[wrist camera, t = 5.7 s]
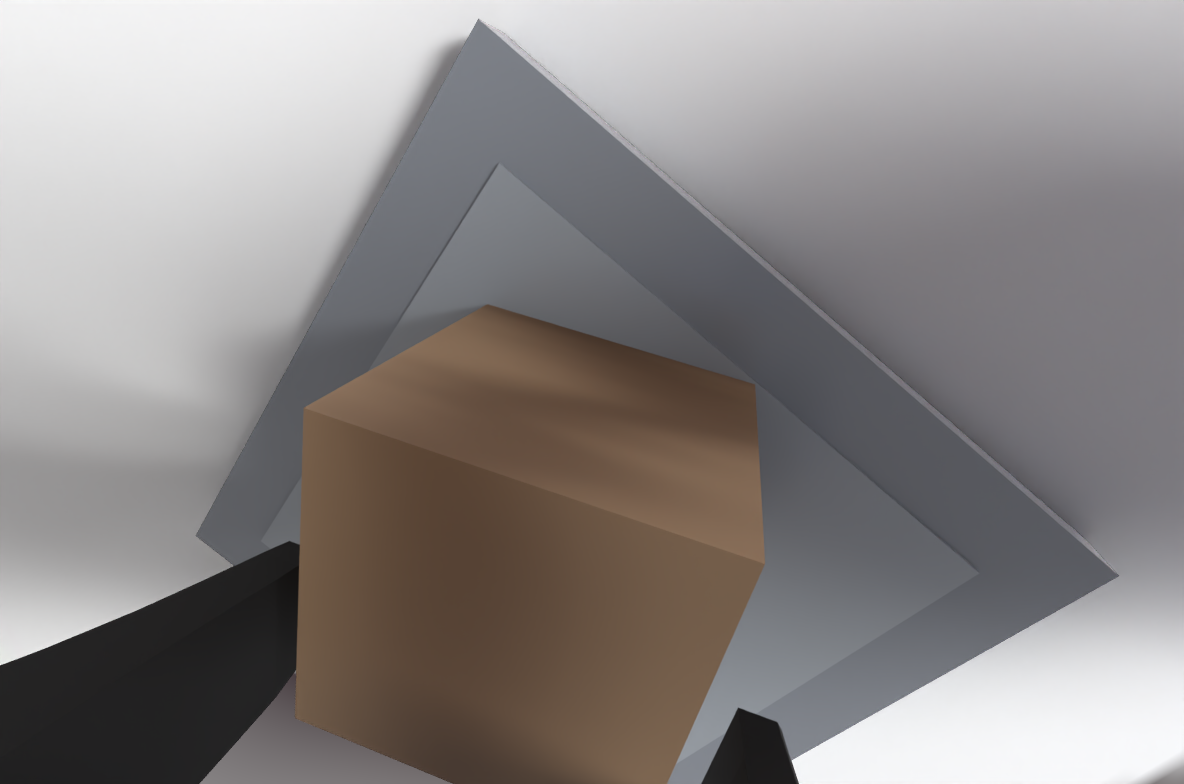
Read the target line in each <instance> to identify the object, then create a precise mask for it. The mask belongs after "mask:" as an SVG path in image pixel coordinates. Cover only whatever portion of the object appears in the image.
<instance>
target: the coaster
mask: <svg viewBox="0 0 1184 784" xmlns="http://www.w3.org/2000/svg"><path fill="white" fill-rule="evenodd" d="M487 304H489V305H492V306H495V307H499V308H502V309H505V310H509V311H512V312H515V313H519V314H522V315H525V316H529V317H532V318H535V319H539V320H542V321H545V322H549V323H552V324H555V325H559V326H562V327H565V328H569V329H572V330H575V331H579V332H582V333H585V334H589V335H592V336H595V337H599V338H602V339H605V340H609V341H612V342H615V343H619V344H622V345H625V346H629V347H632V348H635V349H639V350H642V351H645V352H649V353H652V354H655V355H659V356H662V357H665V358H669V359H672V360H675V361H679V362H682V363H685V364H689V365H692V366H695V367H699V368H702V369H705V370H709V371H712V372H715V373H719V374H722V375H725V376H729V377H732V378H735V379H739V380H742V381H745V382H749V383H752V384H755V391H756V409H757V427H758V445H759V463H760V481H761V499H762V517H763V536H764V554H765V565H764V568H763V570H762V572H761V574H760V576H759V579H758V581H757V583H756V585H755V588H754V590H753V592H752V594H751V597H750V599H749V601H748V603H747V606H746V608H745V610H744V612H743V615H742V617H741V619H740V621H739V624H738V626H737V628H736V630H735V633H734V635H733V637H732V639H731V641H730V644H729V646H728V648H727V650H726V653H725V655H724V657H723V659H722V662H721V664H720V666H719V668H718V671H717V673H716V675H715V677H714V680H713V682H712V684H711V686H710V689H709V691H708V693H707V695H706V698H705V700H704V702H703V704H702V706H701V709H700V711H699V713H698V715H697V718H696V720H695V722H694V724H693V727H692V729H691V731H690V733H689V736H688V738H687V740H686V742H685V745H684V747H683V749H682V751H681V754H680V756H679V758H678V760H677V763H676V765H675V767H674V769H673V772H672V774H671V776H670V778H669V780H668V783H667V784H701V783H702V781H703V779H704V777H705V775H706V773H707V771H708V769H709V767H710V765H711V762H712V760H713V758H714V756H715V754H716V752H717V750H718V748H719V746H720V744H721V742H722V740H723V738H724V736H725V734H726V731H727V729H728V727H729V725H730V723H731V721H732V719H733V717H734V715H735V713H736V711H737V709H738V708H741V709H744V710H746V711H749V712H752V713H754V714H757V715H760V716H762V717H765V718H768V719H771V720H773V721H776V722H778V724H779V726H780V728H781V730H782V733H783V736H784V739H785V742H786V746H787V749H788V752H789V755H790V758H791V760H793V759H795V758H796V757H798V756H800V755H802V754H803V753H805V752H807V751H809V750H811V749H812V748H814V747H816V746H818V745H819V744H821V743H823V742H825V741H827V740H828V739H830V738H832V737H834V736H835V735H837V734H839V733H841V732H843V731H844V730H846V729H848V728H850V727H851V726H853V725H855V724H857V723H859V722H860V721H862V720H864V719H866V718H867V717H869V716H871V715H873V714H875V713H876V712H878V711H880V710H882V709H883V708H885V707H887V706H889V705H891V704H892V703H894V702H896V701H898V700H899V699H901V698H903V697H905V696H907V695H908V694H910V693H912V692H914V691H915V690H917V689H919V688H921V687H923V686H924V685H926V684H928V683H930V682H931V681H933V680H935V679H937V678H939V677H940V676H942V675H944V674H946V673H948V672H949V671H951V670H953V669H955V668H956V667H958V666H960V665H962V664H964V663H965V662H967V661H969V660H971V659H972V658H974V657H976V656H978V655H980V654H981V653H983V652H985V651H987V650H988V649H990V648H992V647H994V646H996V645H997V644H999V643H1001V642H1003V641H1004V640H1006V639H1008V638H1010V637H1012V636H1013V635H1015V634H1017V633H1019V632H1020V631H1022V630H1024V629H1026V628H1028V627H1029V626H1031V625H1033V624H1035V623H1036V622H1038V621H1040V620H1042V619H1044V618H1045V617H1047V616H1049V615H1051V614H1052V613H1054V612H1056V611H1058V610H1060V609H1061V608H1063V607H1065V606H1067V605H1068V604H1070V603H1072V602H1074V601H1076V600H1077V599H1079V598H1081V597H1083V596H1084V595H1086V594H1088V593H1090V592H1092V591H1093V590H1095V589H1097V588H1099V587H1100V586H1102V585H1104V584H1106V583H1108V582H1109V581H1111V580H1113V579H1115V578H1116V577H1118V576H1119V575H1118V574H1117V573H1116V572H1115V571H1114V570H1113V569H1112V567H1111V566H1110V565H1109V564H1108V563H1107V562H1106V561H1105V560H1104V559H1103V557H1102V556H1101V555H1100V554H1099V553H1098V552H1097V551H1096V550H1095V549H1094V548H1093V546H1092V545H1091V544H1090V543H1089V542H1088V541H1087V540H1086V539H1085V538H1083V537H1082V536H1081V535H1080V534H1079V533H1078V532H1077V531H1075V530H1074V529H1073V528H1072V527H1071V526H1070V525H1069V524H1067V523H1066V522H1065V521H1064V520H1063V519H1062V518H1060V517H1059V516H1058V515H1057V514H1056V513H1055V512H1054V511H1052V510H1051V509H1050V508H1049V507H1048V506H1047V505H1046V504H1044V503H1043V502H1042V501H1041V500H1040V499H1039V498H1037V497H1036V496H1035V495H1034V494H1033V493H1032V492H1031V491H1029V490H1028V489H1027V488H1026V487H1025V486H1024V485H1023V484H1021V483H1020V482H1019V481H1018V480H1017V479H1016V478H1015V477H1013V476H1012V475H1011V474H1010V473H1009V472H1008V471H1006V470H1005V469H1004V468H1003V467H1002V466H1001V465H1000V464H998V463H997V462H996V461H995V460H994V459H993V458H992V457H990V456H989V455H988V454H987V453H986V452H985V451H983V450H982V449H981V448H980V447H979V446H978V445H977V444H975V443H974V442H973V441H972V440H971V439H970V438H969V437H967V436H966V435H965V434H964V433H963V432H962V431H961V430H959V429H958V428H957V427H956V426H955V425H954V424H952V423H951V422H950V421H949V420H948V419H947V418H946V417H944V416H943V415H942V414H941V413H940V412H939V411H938V410H936V409H935V408H934V407H933V406H932V405H931V404H929V403H928V402H927V401H926V400H925V399H924V398H923V397H921V396H920V395H919V394H918V393H917V392H916V391H915V390H913V389H912V388H911V387H910V386H909V385H908V384H907V383H905V382H904V381H903V380H902V379H901V378H900V377H898V376H897V375H896V374H895V373H894V372H893V371H892V370H890V369H889V368H888V367H887V366H886V365H885V364H884V363H882V362H881V361H880V360H879V359H878V358H877V357H875V356H874V355H873V354H872V353H871V352H870V351H869V350H867V349H866V348H865V347H864V346H863V345H862V344H861V343H859V342H858V341H857V340H856V339H855V338H854V337H852V336H851V335H850V334H849V333H848V332H847V331H846V330H844V329H843V328H842V327H841V326H840V325H839V324H838V323H836V322H835V321H834V320H833V319H832V318H831V317H830V316H828V315H827V314H826V313H825V312H824V311H823V310H821V309H820V308H819V307H818V306H817V305H816V304H815V303H813V302H812V301H811V300H810V299H809V298H808V297H807V296H805V295H804V294H803V293H802V292H801V291H800V290H798V289H797V288H796V287H795V286H794V285H793V284H792V283H790V282H789V281H788V280H787V279H786V278H785V277H784V276H782V275H781V274H780V273H779V272H778V271H777V270H776V269H774V268H773V267H772V266H771V265H770V264H769V263H767V262H766V261H765V260H764V259H763V258H762V257H761V256H759V255H758V254H757V253H756V252H755V251H754V250H753V249H751V248H750V247H749V246H748V245H747V244H746V243H744V242H743V241H742V240H741V239H740V238H739V237H738V236H736V235H735V234H734V233H733V232H732V231H731V230H730V229H728V228H727V227H726V226H725V225H724V224H723V223H722V222H720V221H719V220H718V219H717V218H716V217H715V216H713V215H712V214H711V213H710V212H709V211H708V210H707V209H705V208H704V207H703V206H702V205H701V204H700V203H699V202H697V201H696V200H695V199H694V198H693V197H692V196H690V195H689V194H688V193H687V192H686V191H685V190H684V189H682V188H681V187H680V186H679V185H678V184H677V183H676V182H674V181H673V180H672V179H671V178H670V177H669V176H668V175H666V174H665V173H664V172H663V171H662V170H661V169H659V168H658V167H657V166H656V165H655V164H654V163H653V162H651V161H650V160H649V159H648V158H647V157H646V156H645V155H643V154H642V153H641V152H640V151H639V150H638V149H636V148H635V147H634V146H633V145H632V144H631V143H630V142H628V141H627V140H626V139H625V138H624V137H623V136H622V135H620V134H619V133H618V132H617V131H616V130H615V129H614V128H612V127H611V126H610V125H609V124H608V123H607V122H605V121H604V120H603V119H602V118H601V117H600V116H599V115H597V114H596V113H595V112H594V111H593V110H592V109H591V108H589V107H588V106H587V105H586V104H585V103H584V102H582V101H581V100H580V99H579V98H578V97H577V96H576V95H574V94H573V93H572V92H571V91H570V90H569V89H568V88H566V87H565V86H564V85H563V84H562V83H561V82H559V81H558V80H557V79H556V78H555V77H554V76H553V75H551V74H550V73H549V72H548V71H547V70H546V69H545V68H543V67H542V66H541V65H540V64H539V63H538V62H537V61H535V60H534V59H533V58H532V57H531V56H530V55H528V54H527V53H526V52H525V51H524V50H523V49H522V48H520V47H519V46H518V45H517V44H516V43H515V42H514V41H512V40H511V39H510V38H509V37H508V36H507V35H505V34H504V33H503V32H502V31H500V30H498V29H496V28H495V27H493V26H491V25H489V24H487V23H485V22H483V21H481V20H480V19H478V20H477V22H476V24H475V26H474V28H473V30H472V31H471V33H470V35H469V37H468V39H467V41H466V42H465V44H464V46H463V48H462V50H461V52H460V53H459V55H458V57H457V59H456V61H455V63H454V64H453V66H452V68H451V70H450V72H449V74H448V75H447V77H446V79H445V81H444V83H443V85H442V86H441V88H440V90H439V92H438V94H437V96H436V97H435V99H434V101H433V103H432V105H431V106H430V108H429V110H428V112H427V114H426V116H425V117H424V119H423V121H422V123H421V125H420V127H419V128H418V130H417V132H416V134H415V136H414V138H413V139H412V141H411V143H410V145H409V147H408V149H407V150H406V152H405V154H404V156H403V158H402V160H401V161H400V163H399V165H398V167H397V169H396V171H395V172H394V174H393V176H392V178H391V180H390V181H389V183H388V185H387V187H386V189H385V191H384V192H383V194H382V196H381V198H380V200H379V202H378V203H377V205H376V207H375V209H374V211H373V213H372V214H371V216H370V218H369V220H368V222H367V224H366V225H365V227H364V229H363V231H362V233H361V235H360V236H359V238H358V240H357V242H356V244H355V246H354V247H353V249H352V251H351V253H350V255H349V256H348V258H347V260H346V262H345V264H344V266H343V267H342V269H341V271H340V273H339V275H338V277H337V278H336V280H335V282H334V284H333V286H332V288H331V289H330V291H329V293H328V295H327V297H326V299H325V300H324V302H323V304H322V306H321V308H320V310H319V311H318V313H317V315H316V317H315V319H314V321H313V322H312V324H311V326H310V328H309V330H308V331H307V333H306V335H305V337H304V339H303V341H302V342H301V344H300V346H299V348H298V350H297V352H296V353H295V355H294V357H293V359H292V361H291V363H290V364H289V366H288V368H287V370H286V372H285V374H284V375H283V377H282V379H281V381H280V383H279V385H278V386H277V388H276V390H275V392H274V394H273V396H272V397H271V399H270V401H269V403H268V405H267V406H266V408H265V410H264V412H263V414H262V416H261V417H260V419H259V421H258V423H257V425H256V427H255V428H254V430H253V432H252V434H251V436H250V438H249V439H248V441H247V443H246V445H245V447H244V449H243V450H242V452H241V454H240V456H239V458H238V460H237V461H236V463H235V465H234V467H233V469H232V471H231V472H230V474H229V476H228V478H227V480H226V481H225V483H224V485H223V487H222V489H221V491H220V492H219V494H218V496H217V498H216V500H215V502H214V503H213V505H212V507H211V509H210V511H209V513H208V514H207V516H206V518H205V520H204V522H203V524H202V525H201V527H200V529H199V531H198V533H197V535H196V536H197V537H198V538H199V539H201V540H202V541H203V542H204V543H206V544H207V545H208V546H210V547H211V548H212V549H213V550H215V551H216V552H217V553H219V554H220V555H221V556H222V557H224V558H225V559H226V560H228V561H229V562H230V563H231V564H233V565H234V566H235V565H238V564H240V563H242V562H244V561H246V560H248V559H250V558H252V557H255V556H257V555H259V554H261V553H263V552H265V551H268V550H270V549H272V548H274V547H276V546H279V545H281V544H283V543H285V542H288V541H291V542H294V543H297V544H299V545H300V520H301V484H302V448H303V412H304V407H306V406H308V405H310V404H311V403H313V402H315V401H317V400H318V399H320V398H322V397H324V396H326V395H327V394H329V393H331V392H333V391H334V390H336V389H338V388H340V387H342V386H343V385H345V384H347V383H349V382H350V381H352V380H354V379H356V378H357V377H359V376H361V375H363V374H365V373H366V372H368V371H370V370H372V369H373V368H375V367H377V366H379V365H381V364H382V363H384V362H386V361H388V360H389V359H391V358H393V357H395V356H397V355H398V354H400V353H402V352H404V351H405V350H407V349H409V348H411V347H412V346H414V345H416V344H418V343H420V342H421V341H423V340H425V339H427V338H428V337H430V336H432V335H434V334H436V333H437V332H439V331H441V330H443V329H444V328H446V327H448V326H450V325H451V324H453V323H455V322H457V321H459V320H460V319H462V318H464V317H466V316H467V315H469V314H471V313H473V312H475V311H476V310H478V309H480V308H482V307H483V306H485V305H487Z"/></svg>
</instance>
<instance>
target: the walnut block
mask: <svg viewBox="0 0 1184 784" xmlns="http://www.w3.org/2000/svg"><path fill="white" fill-rule="evenodd" d="M764 565H765V554H764V536H763V517H762V499H761V481H760V463H759V445H758V427H757V409H756V391H755V384H752V383H749V382H745V381H742V380H739V379H735V378H732V377H729V376H725V375H722V374H719V373H715V372H712V371H709V370H705V369H702V368H699V367H695V366H692V365H689V364H685V363H682V362H679V361H675V360H672V359H669V358H665V357H662V356H659V355H655V354H652V353H649V352H645V351H642V350H639V349H635V348H632V347H629V346H625V345H622V344H619V343H615V342H612V341H609V340H605V339H602V338H599V337H595V336H592V335H589V334H585V333H582V332H579V331H575V330H572V329H569V328H565V327H562V326H559V325H555V324H552V323H549V322H545V321H542V320H539V319H535V318H532V317H529V316H525V315H522V314H519V313H515V312H512V311H509V310H505V309H502V308H499V307H495V306H492V305H489V304H487V305H485V306H483V307H482V308H480V309H478V310H476V311H475V312H473V313H471V314H469V315H467V316H466V317H464V318H462V319H460V320H459V321H457V322H455V323H453V324H451V325H450V326H448V327H446V328H444V329H443V330H441V331H439V332H437V333H436V334H434V335H432V336H430V337H428V338H427V339H425V340H423V341H421V342H420V343H418V344H416V345H414V346H412V347H411V348H409V349H407V350H405V351H404V352H402V353H400V354H398V355H397V356H395V357H393V358H391V359H389V360H388V361H386V362H384V363H382V364H381V365H379V366H377V367H375V368H373V369H372V370H370V371H368V372H366V373H365V374H363V375H361V376H359V377H357V378H356V379H354V380H352V381H350V382H349V383H347V384H345V385H343V386H342V387H340V388H338V389H336V390H334V391H333V392H331V393H329V394H327V395H326V396H324V397H322V398H320V399H318V400H317V401H315V402H313V403H311V404H310V405H308V406H306V407H304V412H303V448H302V484H301V520H300V556H299V592H298V628H297V663H296V699H295V700H296V701H295V718H296V719H298V720H301V721H303V722H306V723H308V724H311V725H313V726H315V727H318V728H320V729H322V730H325V731H327V732H330V733H332V734H335V735H337V736H340V737H342V738H344V739H347V740H349V741H352V742H354V743H357V744H359V745H361V746H364V747H366V748H369V749H371V750H373V751H376V752H378V753H380V754H383V755H385V756H388V757H390V758H393V759H395V760H397V761H400V762H402V763H405V764H407V765H409V766H412V767H414V768H417V769H419V770H421V771H424V772H426V773H429V774H431V775H434V776H436V777H438V778H441V779H443V780H446V781H448V782H450V783H453V784H667V783H668V780H669V778H670V776H671V774H672V772H673V769H674V767H675V765H676V763H677V760H678V758H679V756H680V754H681V751H682V749H683V747H684V745H685V742H686V740H687V738H688V736H689V733H690V731H691V729H692V727H693V724H694V722H695V720H696V718H697V715H698V713H699V711H700V709H701V706H702V704H703V702H704V700H705V698H706V695H707V693H708V691H709V689H710V686H711V684H712V682H713V680H714V677H715V675H716V673H717V671H718V668H719V666H720V664H721V662H722V659H723V657H724V655H725V653H726V650H727V648H728V646H729V644H730V641H731V639H732V637H733V635H734V633H735V630H736V628H737V626H738V624H739V621H740V619H741V617H742V615H743V612H744V610H745V608H746V606H747V603H748V601H749V599H750V597H751V594H752V592H753V590H754V588H755V585H756V583H757V581H758V579H759V576H760V574H761V572H762V570H763V568H764Z"/></svg>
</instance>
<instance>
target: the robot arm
mask: <svg viewBox="0 0 1184 784" xmlns="http://www.w3.org/2000/svg"><path fill="white" fill-rule="evenodd" d="M299 556H300V545H299V544H297V543H294V542H291V541H288V542H285V543H283V544H281V545H279V546H276V547H274V548H272V549H270V550H268V551H265V552H263V553H261V554H259V555H257V556H255V557H252V558H250V559H248V560H246V561H244V562H242V563H240V564H238V565H235V566H233V567H231V568H229V569H227V570H225V571H223V572H220V573H218V574H216V575H214V576H212V577H210V578H208V579H205V580H203V581H201V582H199V583H197V584H195V585H192V586H190V587H188V588H186V589H184V590H181V591H179V592H177V593H175V594H173V595H170V596H168V597H166V598H164V599H161V600H159V601H157V602H155V603H153V604H150V605H148V606H146V607H144V608H141V609H139V610H137V611H135V612H132V613H130V614H127V615H125V616H123V617H120V618H118V619H115V620H113V621H111V622H108V623H106V624H103V625H101V626H99V627H96V628H94V629H91V630H89V631H86V632H84V633H82V634H79V635H77V636H74V637H72V638H70V639H67V640H65V641H62V642H60V643H57V644H55V645H53V646H50V647H48V648H45V649H43V650H40V651H37V652H35V653H32V654H30V655H27V656H24V657H22V658H19V659H16V660H14V661H11V662H8V663H6V664H3V665H0V784H199V783H200V782H201V781H202V780H203V779H204V778H205V777H206V776H207V774H208V773H209V772H210V771H211V770H212V769H213V768H214V767H215V765H216V764H217V763H218V762H219V761H220V760H221V759H222V758H223V757H224V755H225V754H226V753H227V752H228V751H229V750H230V749H231V748H232V746H233V745H234V744H235V743H236V742H237V741H238V740H239V739H240V737H241V736H242V735H243V734H244V733H245V732H246V731H247V730H248V728H249V727H250V726H251V725H252V724H253V723H254V722H255V721H256V719H257V718H258V717H259V716H260V715H261V714H262V713H263V711H264V710H265V709H266V708H267V707H268V706H269V705H270V703H271V702H272V701H273V700H274V699H275V698H276V696H277V695H278V694H279V692H280V691H281V690H282V688H283V687H284V686H285V684H286V683H287V681H288V680H289V679H290V677H291V676H292V675H293V673H294V672H295V671H296V663H297V628H298V592H299ZM701 784H799V783H798V780H797V777H796V774H795V770H794V767H793V764H792V761H791V758H790V755H789V752H788V749H787V746H786V742H785V739H784V736H783V733H782V730H781V728H780V726H779V724H778V722H776V721H773V720H771V719H768V718H765V717H762V716H760V715H757V714H754V713H752V712H749V711H746V710H744V709H741V708H738V709H737V711H736V713H735V715H734V717H733V719H732V721H731V723H730V725H729V727H728V729H727V731H726V734H725V736H724V738H723V740H722V742H721V744H720V746H719V748H718V750H717V752H716V754H715V756H714V758H713V760H712V762H711V765H710V767H709V769H708V771H707V773H706V775H705V777H704V779H703V781H702V783H701Z"/></svg>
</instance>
